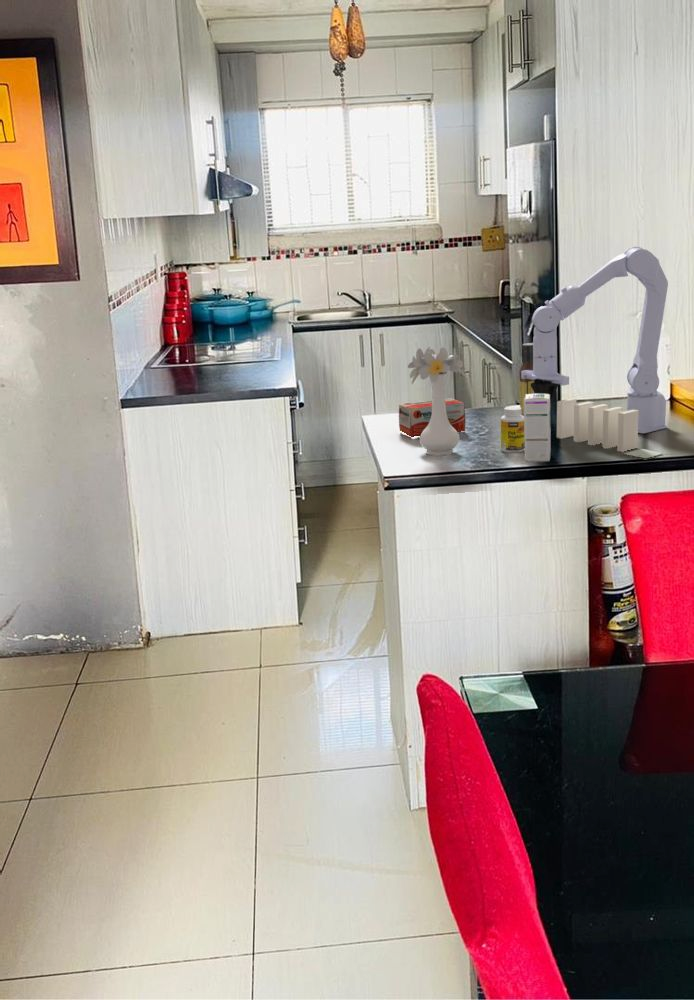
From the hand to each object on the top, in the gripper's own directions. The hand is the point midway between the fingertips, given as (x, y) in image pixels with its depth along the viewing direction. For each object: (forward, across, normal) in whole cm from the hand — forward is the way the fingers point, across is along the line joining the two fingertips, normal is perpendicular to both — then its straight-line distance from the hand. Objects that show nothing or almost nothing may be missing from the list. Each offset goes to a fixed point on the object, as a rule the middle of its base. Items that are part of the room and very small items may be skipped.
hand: (544, 410), depth 264 cm
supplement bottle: (+6, +9, -19) cm, 22 cm away
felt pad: (+5, +32, -1) cm, 32 cm away
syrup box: (+6, +18, -20) cm, 27 cm away
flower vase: (+6, -3, -33) cm, 33 cm away
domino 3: (+5, +18, 0) cm, 18 cm away
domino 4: (+5, +22, 0) cm, 23 cm away
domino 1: (+5, +8, 0) cm, 9 cm away
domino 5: (+5, +26, 0) cm, 27 cm away
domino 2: (+5, +13, 0) cm, 14 cm away
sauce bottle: (+6, -12, +8) cm, 16 cm away
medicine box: (+6, -19, -21) cm, 29 cm away
